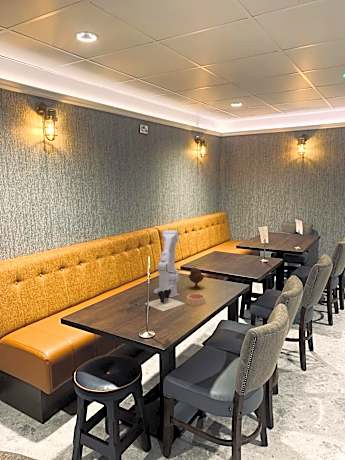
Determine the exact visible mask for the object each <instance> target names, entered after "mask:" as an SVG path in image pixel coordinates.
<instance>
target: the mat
mask: <svg viewBox="0 0 345 460" xmlns="http://www.w3.org/2000/svg"><path fill="white" fill-rule="evenodd" d="M159 299H160V298H158V299H154V300H151V301H148V302H149V305H147V303H148V302H145V303H144V305H147V306H149V307H152V308H154V309H157V310H159V311H161V312H165V311H167V310H170V309H174V308H176V307H179V306H182V305H184V304H186V303H185V302H183V301H179V300H177V299H173V298H172V297H169V299H171V300H174V301H175V302H176V304H175V305H174V306H171V307H166V308H162V307H156V306H154V305H153V302H154V301H156V300H159Z"/></svg>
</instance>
